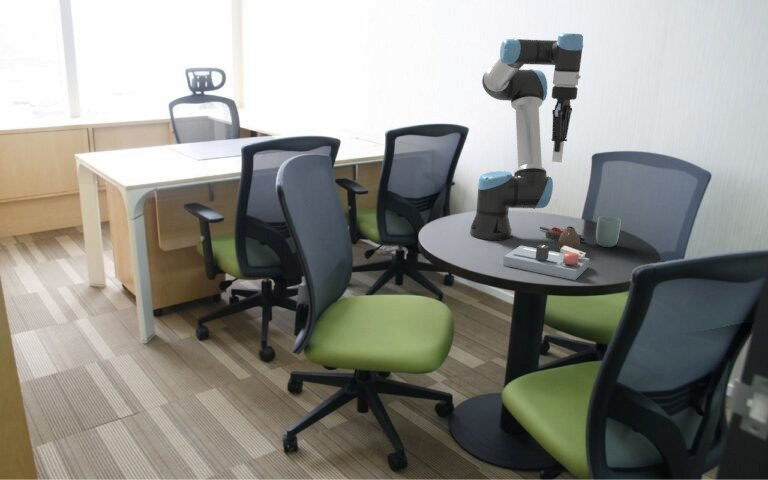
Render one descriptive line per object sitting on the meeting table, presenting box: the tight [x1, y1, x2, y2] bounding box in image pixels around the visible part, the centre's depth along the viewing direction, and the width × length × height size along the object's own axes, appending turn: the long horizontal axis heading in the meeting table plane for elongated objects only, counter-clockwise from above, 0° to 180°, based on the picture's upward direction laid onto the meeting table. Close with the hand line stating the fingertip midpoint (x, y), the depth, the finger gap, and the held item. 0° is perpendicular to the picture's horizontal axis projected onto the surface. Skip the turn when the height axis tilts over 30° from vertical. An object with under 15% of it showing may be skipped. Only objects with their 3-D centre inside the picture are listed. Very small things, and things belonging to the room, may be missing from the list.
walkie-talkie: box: [539, 226, 585, 243], centre depth 237 cm, size 9×4×20 cm
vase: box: [558, 225, 581, 250], centre depth 218 cm, size 7×7×9 cm
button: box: [563, 252, 579, 265], centre depth 195 cm, size 4×4×3 cm
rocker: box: [559, 246, 587, 259], centre depth 202 cm, size 7×4×1 cm, turn 58°
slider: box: [536, 244, 550, 261], centre depth 199 cm, size 3×3×4 cm
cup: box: [595, 215, 622, 248], centre depth 227 cm, size 8×8×10 cm
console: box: [502, 245, 590, 281], centre depth 203 cm, size 23×15×4 cm, turn 58°
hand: (556, 161), depth 203 cm, fingers closed
